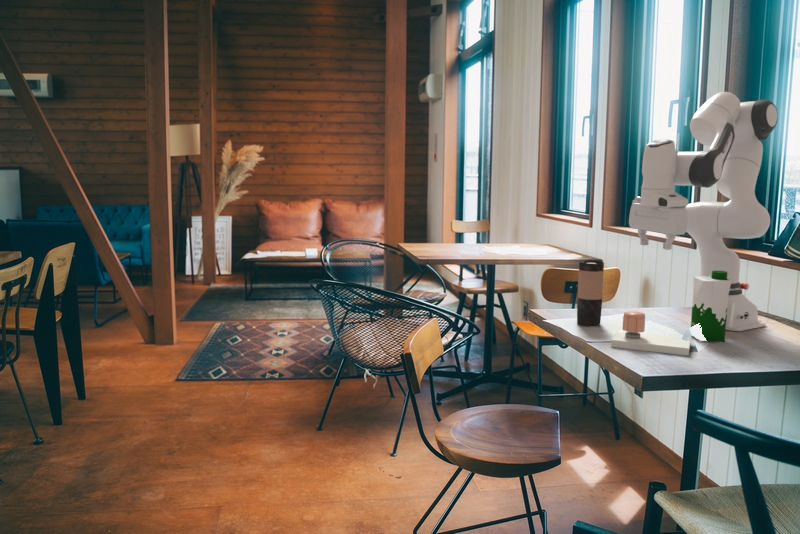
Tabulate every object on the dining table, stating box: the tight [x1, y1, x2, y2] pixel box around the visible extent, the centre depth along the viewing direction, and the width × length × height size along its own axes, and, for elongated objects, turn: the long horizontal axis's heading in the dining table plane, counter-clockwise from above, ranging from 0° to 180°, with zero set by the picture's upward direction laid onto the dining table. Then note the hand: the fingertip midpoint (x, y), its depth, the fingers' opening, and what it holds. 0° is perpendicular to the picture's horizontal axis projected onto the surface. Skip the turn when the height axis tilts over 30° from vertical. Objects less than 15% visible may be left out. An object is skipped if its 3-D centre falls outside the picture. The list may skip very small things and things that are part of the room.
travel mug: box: [576, 260, 605, 327], centre depth 215 cm, size 8×8×20 cm
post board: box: [610, 330, 691, 356], centre depth 190 cm, size 20×12×8 cm, turn 65°
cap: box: [622, 310, 646, 333], centre depth 192 cm, size 6×6×5 cm
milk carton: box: [690, 271, 731, 343], centre depth 197 cm, size 9×9×20 cm
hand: (655, 247), depth 193 cm, fingers open, 8 cm apart
